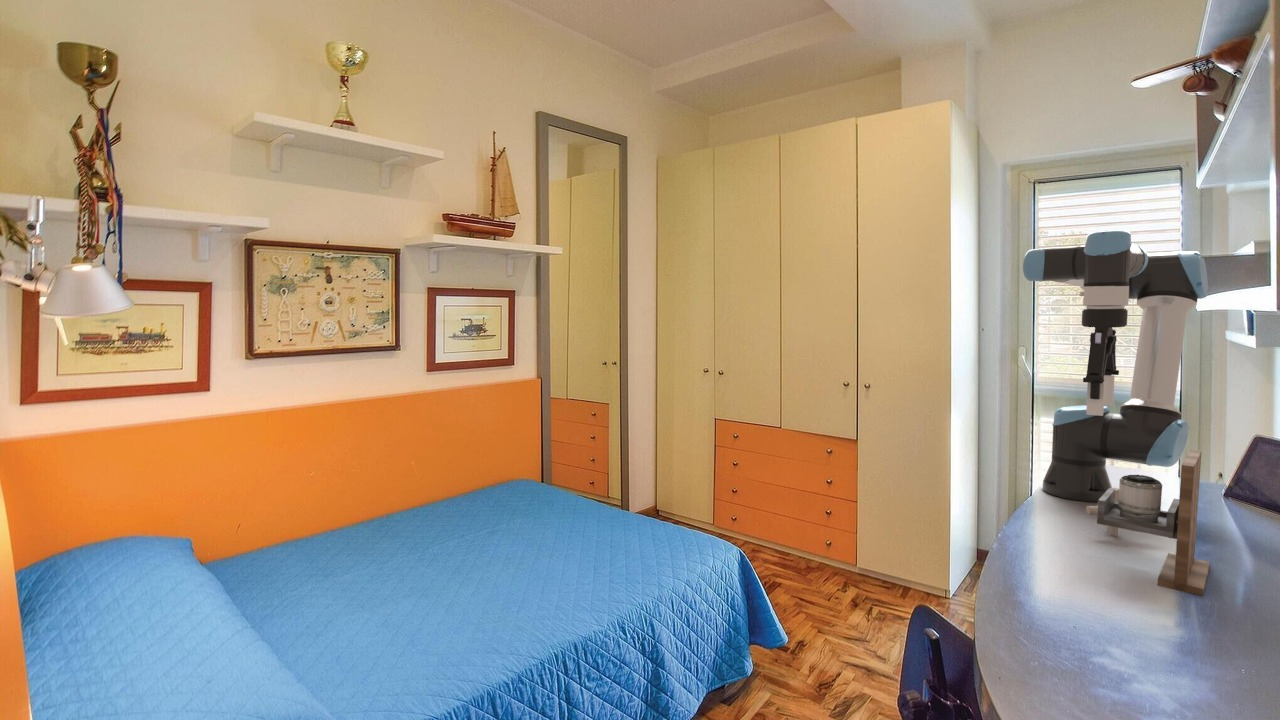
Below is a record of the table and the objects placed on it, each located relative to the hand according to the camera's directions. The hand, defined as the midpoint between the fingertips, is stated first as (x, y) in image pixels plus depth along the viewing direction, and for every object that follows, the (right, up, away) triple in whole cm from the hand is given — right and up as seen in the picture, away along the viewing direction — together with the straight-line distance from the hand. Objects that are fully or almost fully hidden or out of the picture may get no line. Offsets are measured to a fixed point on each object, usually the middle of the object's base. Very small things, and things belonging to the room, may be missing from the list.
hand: (1100, 410), depth 131 cm
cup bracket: (0, -29, -13) cm, 32 cm away
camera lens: (-2, -20, -12) cm, 23 cm away
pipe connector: (+6, -27, +5) cm, 28 cm away
